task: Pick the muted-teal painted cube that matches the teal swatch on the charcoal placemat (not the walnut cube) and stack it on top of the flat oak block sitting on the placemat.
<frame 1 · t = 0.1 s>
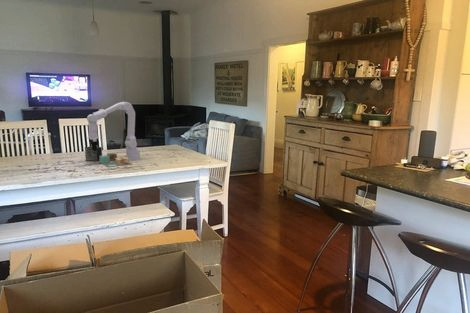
hand: (94, 150, 255), 10 cm above the table, fingers open, 7 cm apart
small box: (94, 161, 266), on the table
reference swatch: (112, 165, 247), resting on placemat
oak block: (122, 163, 254), point 1 cm above the table, touching placemat
walnut block: (112, 161, 266), on the table
teal block: (104, 163, 258), on the table
placemat: (117, 164, 254), on the table
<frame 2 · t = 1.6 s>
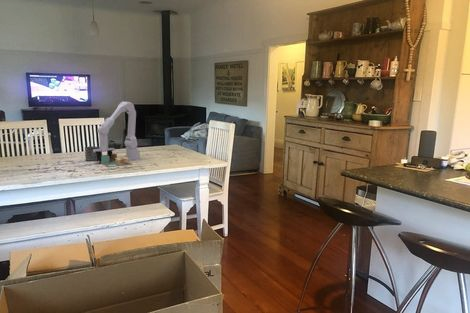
hand: (104, 161, 258), 1 cm above the table, fingers closed on teal block, 5 cm apart
teal block: (104, 163, 258), on the table, touching gripper
everything else where it was.
when the fingers open (7 cm above the table, at t = 4.7 s): teal block stays where it is, resting on oak block.
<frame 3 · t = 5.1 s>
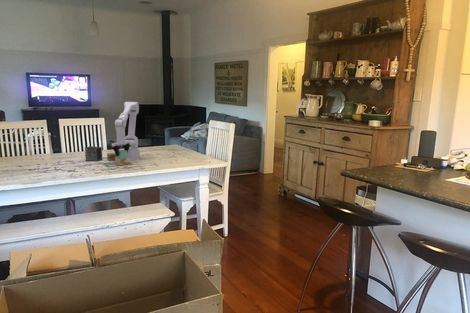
hand: (121, 155, 253), 7 cm above the table, fingers open, 7 cm apart
oak block: (122, 163, 254), point 1 cm above the table, touching placemat, teal block
teal block: (121, 158, 254), point 5 cm above the table, touching oak block
everything else where it was.
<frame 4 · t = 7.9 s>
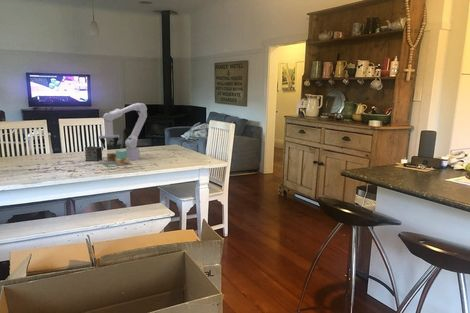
hand: (109, 147, 261), 10 cm above the table, fingers open, 7 cm apart
nothing on the table moved.
at the end: teal block 0.1 cm off-centre on the oak block, point 4.0 cm above the oak block's base; teal block tilted 0°; the gripper is holding nothing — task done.
